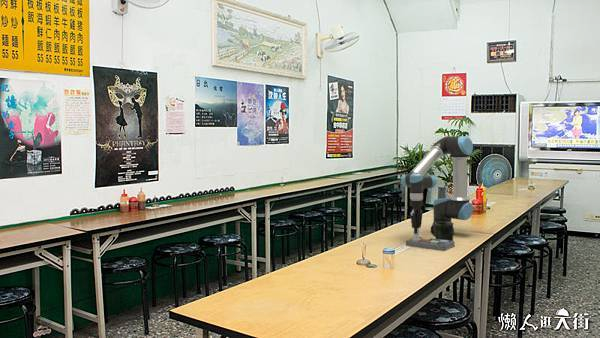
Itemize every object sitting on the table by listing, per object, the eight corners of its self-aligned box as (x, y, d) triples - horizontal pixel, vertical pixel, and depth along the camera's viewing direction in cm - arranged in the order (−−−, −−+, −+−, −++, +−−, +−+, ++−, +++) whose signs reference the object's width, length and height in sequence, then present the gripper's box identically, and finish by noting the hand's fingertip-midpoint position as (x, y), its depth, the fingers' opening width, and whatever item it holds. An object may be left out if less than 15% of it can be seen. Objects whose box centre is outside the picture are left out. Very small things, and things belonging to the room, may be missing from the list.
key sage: (432, 244, 308) (432, 240, 308) (439, 245, 305) (439, 241, 305) (429, 245, 305) (429, 241, 305) (436, 246, 302) (436, 242, 302)
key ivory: (415, 241, 316) (415, 237, 316) (421, 242, 313) (421, 238, 313) (411, 243, 312) (411, 239, 312) (418, 244, 310) (418, 240, 309)
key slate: (442, 243, 304) (442, 239, 304) (449, 244, 302) (449, 240, 301) (438, 245, 301) (438, 240, 301) (445, 245, 298) (445, 241, 298)
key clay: (423, 241, 312) (423, 237, 312) (430, 242, 309) (430, 238, 309) (420, 242, 309) (420, 238, 308) (427, 243, 306) (427, 239, 306)
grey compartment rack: (417, 242, 320) (417, 236, 320) (454, 247, 305) (454, 241, 304) (406, 247, 310) (406, 240, 309) (444, 252, 294) (444, 245, 294)
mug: (448, 245, 313) (448, 225, 312) (426, 241, 323) (426, 222, 322) (456, 241, 321) (456, 222, 320) (435, 238, 330) (435, 220, 330)
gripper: (415, 198, 318) (416, 236, 320) (405, 200, 308) (405, 239, 310) (427, 198, 313) (427, 237, 315) (417, 201, 303) (417, 241, 305)
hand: (416, 238), depth 312 cm, fingers closed
